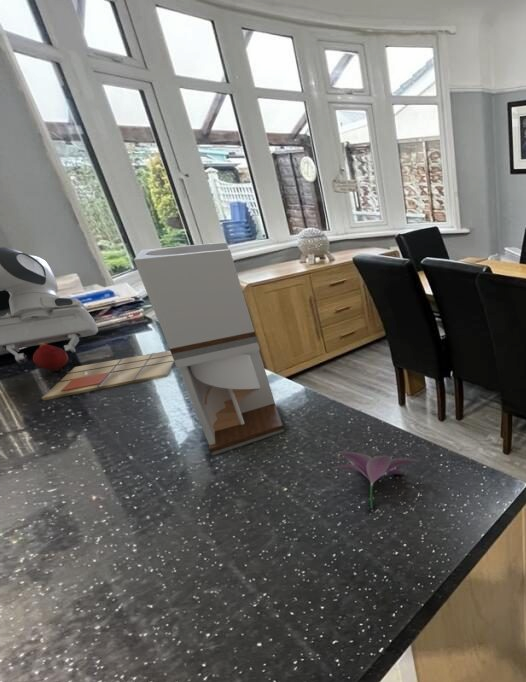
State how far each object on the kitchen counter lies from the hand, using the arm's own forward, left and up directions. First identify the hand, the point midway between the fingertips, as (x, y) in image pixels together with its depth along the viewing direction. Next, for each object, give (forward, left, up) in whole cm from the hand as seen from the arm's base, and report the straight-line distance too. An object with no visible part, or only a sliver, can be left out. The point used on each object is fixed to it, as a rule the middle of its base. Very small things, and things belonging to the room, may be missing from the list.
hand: (46, 356), depth 101 cm
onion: (0, +1, -5) cm, 5 cm away
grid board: (+16, -11, -4) cm, 20 cm away
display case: (+46, -57, -5) cm, 74 cm away
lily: (+65, -86, -5) cm, 108 cm away
